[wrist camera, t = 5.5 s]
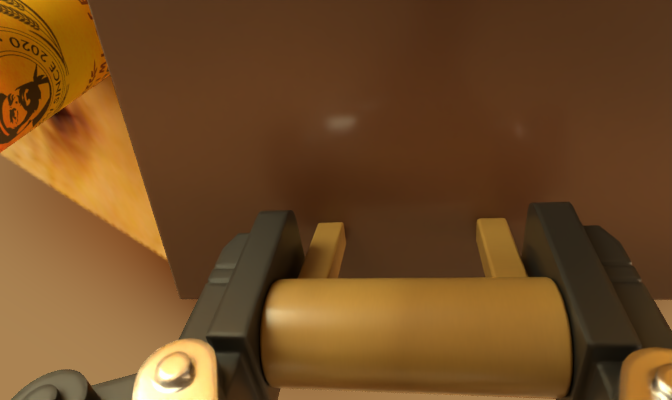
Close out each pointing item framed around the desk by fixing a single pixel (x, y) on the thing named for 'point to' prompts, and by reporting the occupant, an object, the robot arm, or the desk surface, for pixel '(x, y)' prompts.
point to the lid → (401, 169)
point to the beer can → (44, 61)
